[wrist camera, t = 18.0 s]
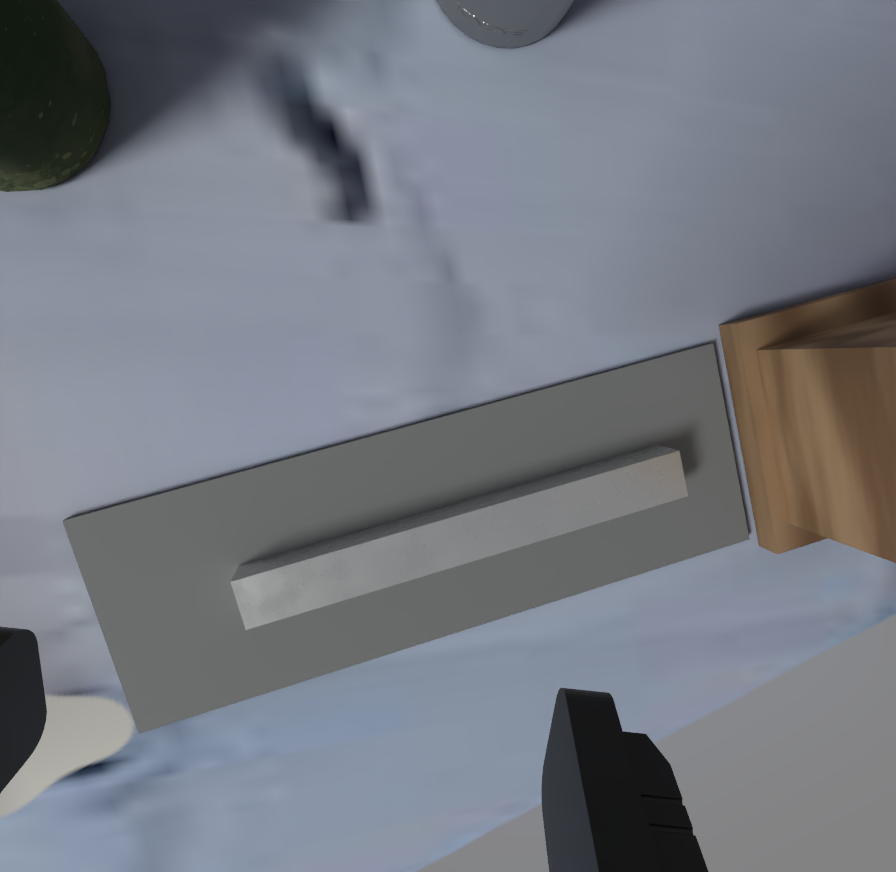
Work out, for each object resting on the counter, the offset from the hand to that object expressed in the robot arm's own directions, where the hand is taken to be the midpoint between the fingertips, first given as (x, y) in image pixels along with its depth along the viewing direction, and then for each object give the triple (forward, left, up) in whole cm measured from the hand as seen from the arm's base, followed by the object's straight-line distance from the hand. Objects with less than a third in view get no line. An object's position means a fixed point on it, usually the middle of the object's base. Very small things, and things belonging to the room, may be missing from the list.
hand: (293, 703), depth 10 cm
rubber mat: (+4, +8, -31) cm, 32 cm away
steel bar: (+3, +9, -30) cm, 32 cm away
